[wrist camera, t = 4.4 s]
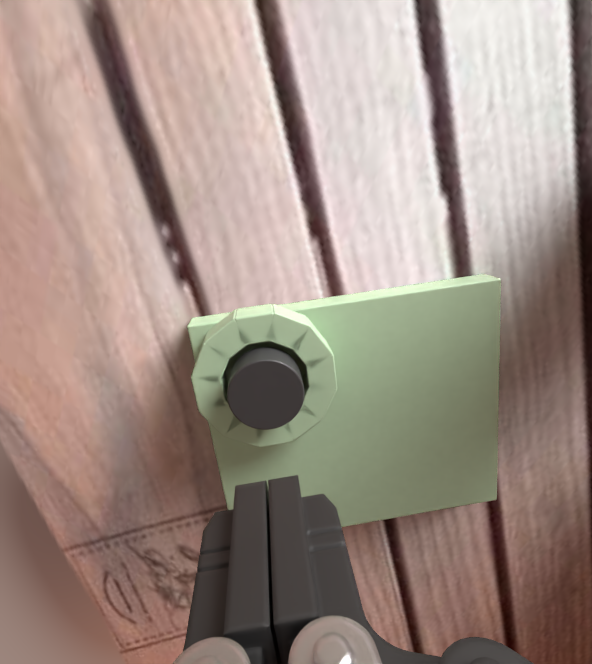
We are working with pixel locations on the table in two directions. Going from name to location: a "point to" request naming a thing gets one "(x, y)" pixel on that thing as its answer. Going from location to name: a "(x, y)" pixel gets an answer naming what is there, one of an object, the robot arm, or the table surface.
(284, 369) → the button
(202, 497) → the table surface
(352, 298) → the scale
